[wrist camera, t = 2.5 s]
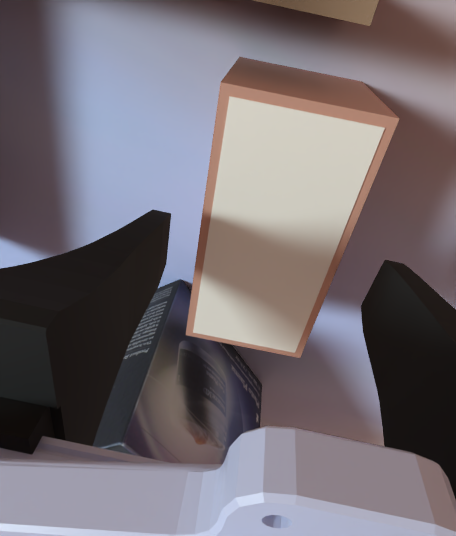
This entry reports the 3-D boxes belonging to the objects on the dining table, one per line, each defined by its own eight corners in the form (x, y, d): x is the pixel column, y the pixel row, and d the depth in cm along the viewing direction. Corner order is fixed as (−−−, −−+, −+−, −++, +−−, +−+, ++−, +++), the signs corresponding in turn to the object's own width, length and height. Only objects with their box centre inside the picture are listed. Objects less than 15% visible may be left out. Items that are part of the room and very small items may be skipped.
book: (207, 257, 21) (185, 335, 16) (240, 56, 15) (220, 82, 10) (295, 275, 21) (300, 358, 16) (361, 81, 15) (400, 119, 10)
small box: (269, 383, 26) (264, 565, 18) (193, 404, 29) (157, 573, 20) (185, 273, 22) (123, 449, 13) (102, 310, 24) (5, 478, 16)
